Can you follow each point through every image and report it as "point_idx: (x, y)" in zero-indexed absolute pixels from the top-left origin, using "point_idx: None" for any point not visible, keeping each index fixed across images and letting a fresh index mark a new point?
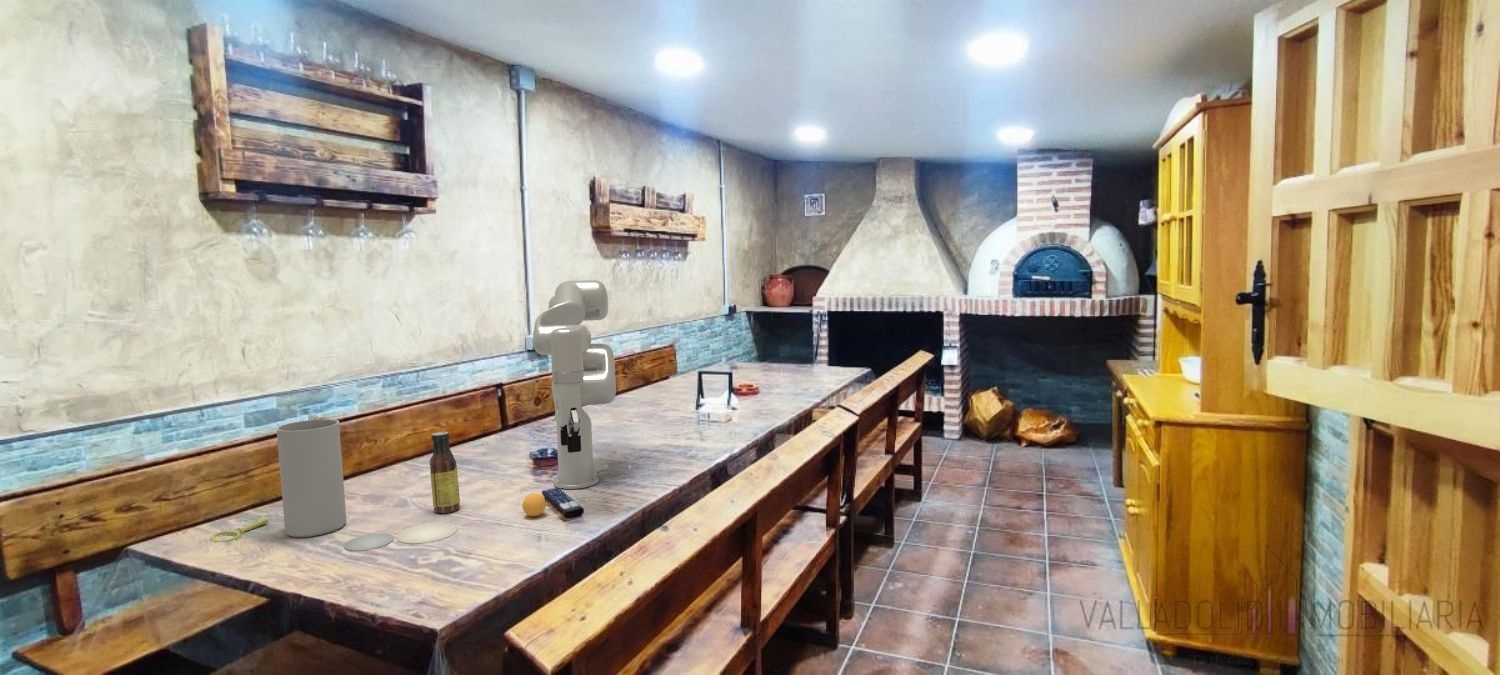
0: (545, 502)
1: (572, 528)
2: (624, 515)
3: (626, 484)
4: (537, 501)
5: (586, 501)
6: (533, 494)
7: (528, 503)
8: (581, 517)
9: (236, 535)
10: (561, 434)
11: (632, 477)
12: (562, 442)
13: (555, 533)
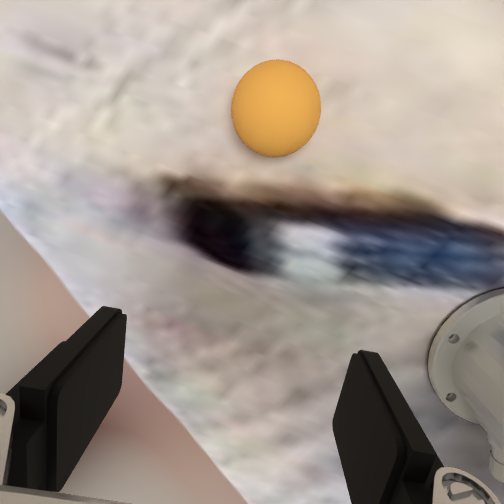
0: (256, 151)
1: (86, 175)
2: None
3: None
4: (236, 108)
5: (301, 306)
6: (273, 102)
7: (249, 72)
8: (167, 236)
9: None
10: (389, 415)
11: None
12: (357, 367)
13: (69, 112)
